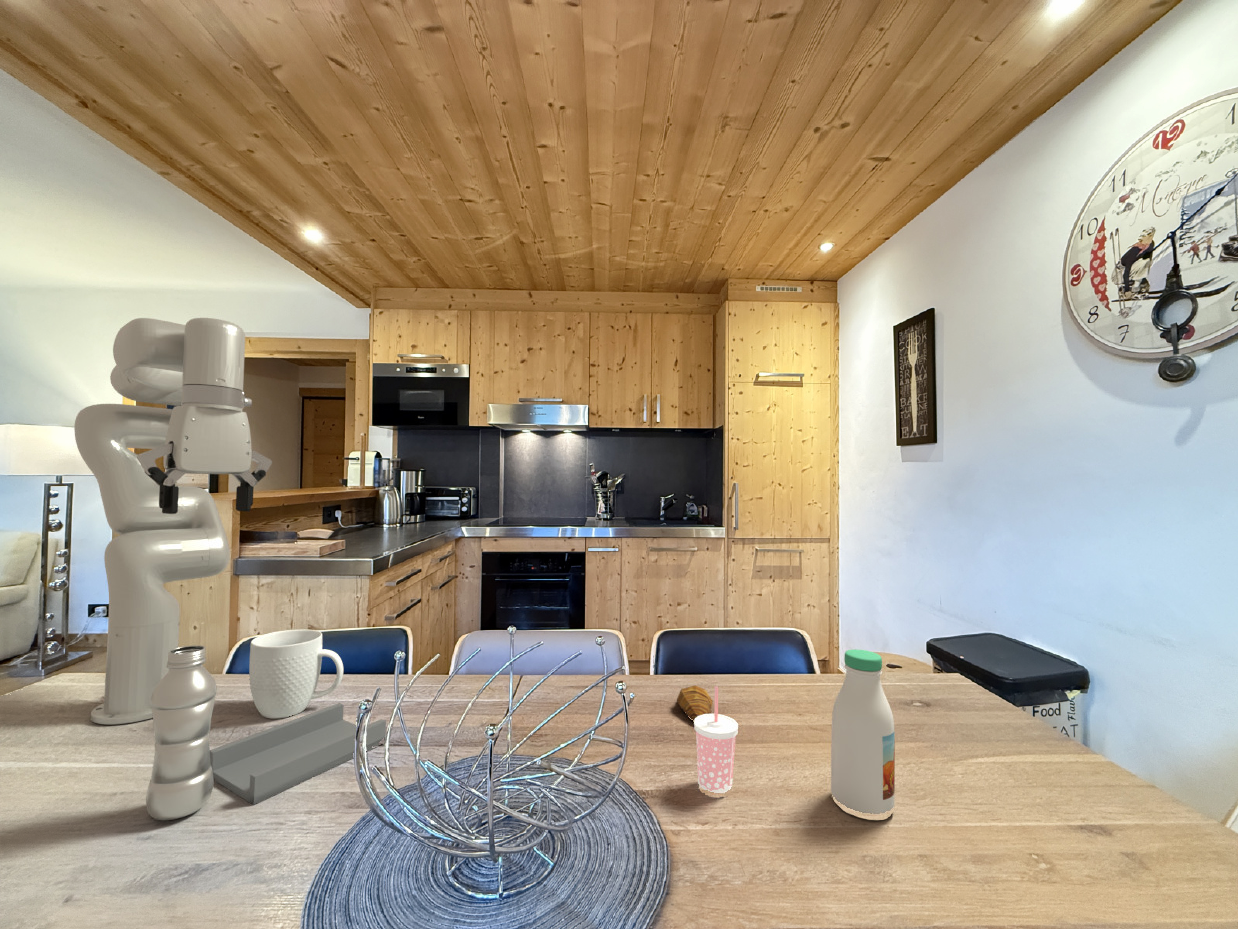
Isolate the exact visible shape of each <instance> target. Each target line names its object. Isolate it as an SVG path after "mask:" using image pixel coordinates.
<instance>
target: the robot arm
mask: <svg viewBox="0 0 1238 929" xmlns="http://www.w3.org/2000/svg"><path fill="white" fill-rule="evenodd" d="M112 347H113V348H112V354H113V359H114V362H115V366H114V367H113V369H112V370H111V372H110V376H109V377H110V384H111V387H113V388H112V389H114V390H115V391H116V392H117V393H118V394H119V395H120V396H122V397H124V398H126V399H128V400H131V401H134V402H138V403H147V404H158V405H167V406H174V407H173V408H172V409H171V408H162V407H154V406H146V405H145V406H143V405H134V404H124V403H123V404H121V403H97V404H92V405H89V406H85V407H84V408H82V409H81V410H79V412H78V413H77V415H76V417H75V421H74V425H73V426H74V438H75V444H76V446H77V449H78V452H79V454H80V456H81V458H82V460H83V462H84V463H85V464H86V466H87V468H88V469H89V470H90V472H91V473H92V474H93V475H94V477H95V479H96V481H97V483H98V488H99V493H100V498H101V501H102V506H103V510H104V514H105V518H106V521H107V524H108V526H109V528H110V529H111V531H113V532H114V533H115V534H116V535H118V536H116V537H114V538H113V539H111V540H110V541H109V542H108V544H107V545H106V547H105V550H104V556H103V559H104V568H105V573H106V581H107V588H108V589H107V591H108V618H107V619H108V623H107V624H108V625H107V640H106V641H107V644H106V645H107V646H106V659H105V660H106V662H105V677H104V678H105V680H104V700H103V703H100V704H99V705H97V706H96V707H94V708H93V709H92V710H91V712H90V720H91V722H93V723H95V724H98V725H123V724H131V723H136V722H140V721H145V720H150V719H153V714H152V706H151V696H152V694H153V691H154V689H155V688H156V686H157V685H158V684H159V682H160V681H161V680H162V679H163V677H164V676H165V675H166V674H167V673H168V672H169V668H167V662H168V653H169V651H170V650H173V649H175V648H179V639H180V637H179V636H180V620H181V619H180V617H181V616H180V614H181V607H180V603H179V601H178V600H177V598H176V597H175V596H174V595H173V594H172V593H171V592H169V591H168V590H167V589H166V588H165V586H164V584H167V583H172V582H178V581H187V580H193V579H194V580H195V579H204V578H210V577H214V576H216V575H217V576H218V575H219V574H222V572H224V571H225V570H226V569H227V567H228V565H229V564H230V563H229V562H230V559H231V558H230V557H231V551H230V544H229V541H228V538H227V533H226V531H225V528H224V525H223V522H222V519H221V516H220V513H219V510H218V508H217V504H216V502H215V499H214V497H213V496H212V494H211V493H210V492H208V490H206V489H204V488H201V487H199V486H192V485H191V486H190V485H189V486H187V485H182V486H181V485H176V483H177V482H178V481H179V480H180V479H181V478H182V477H184V475H185V474H192V475H193V474H195V475H196V474H199V475H200V474H202V475H232V476H233V478H234V479H236V481H238V483H239V485H238V486H237V487H236V493H235V495H236V496H235V511H237V512H250V511H251V510H252V506H253V504H254V487H256V486H257V485H258V483H259V482H260V481H261V480H262V479H264V477H266V475H267V472H268V471H269V469H270V468H271V466H272V464H273V461H272V460H271V459H270V458H268V457H266V456H264V455H263V454H261V453H259V452H257V451H255V450H253V449H252V436H251V427H250V423H249V419H248V415H247V412H246V411H243V410H244V409H245V407H251V406H252V403H253V400H252V399H251V398H247V397H245V392H244V379H245V376H244V373H245V354H246V353H245V350H246V334H245V332H244V329H243V328H242V327H241V326H240V325H238V324H235V323H234V322H231V321H227V320H224V319H219V318H218V319H217V318H212V317H211V318H209V317H194V318H191V319H189V320H188V321H187V322H186V324H182V323H177V322H172V321H166V320H161V319H157V318H150V317H138V318H134V319H132V320H130V321H129V322H127V323H125V324H124V325H123V326H122V327H121V328H119V330H118V332H117V333H116V336H115V338H114V341H113V346H112ZM128 448H129V449H128ZM131 448H132V449H142V450H143V449H145V450H146V449H147V451H144V452H141V453H139V454H137V453H135V452H133V451H132V450H130V449H131ZM162 457H163V461H162V462H163V463H162V464H163V467H164V470H165V471H163V470H162V469H161V468H159V467H158V465H157V463H156V459H159V458H162ZM252 462H255V463H256V465H257V466H256V468H255V470H253V471H252V472H250V470H251V467H252Z"/></svg>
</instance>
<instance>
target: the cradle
mask: <svg viewBox="0 0 1238 929" xmlns="http://www.w3.org/2000/svg"><path fill="white" fill-rule="evenodd" d="M344 706H345V705H344V704H343V703H340V702H338V703H336V704H333V705H331V706H328V707H325V708H322V709H319V710H316V711H314V712H311V713H308V714H305V715H303V716H300V717H297V718H294V719H291V720H289V721H286V722H283V723H280V724H278V725H276V726H273V727H269V728H266V729H264V730H261V731H259V732H257V733H254V734H251V735H248V736H245V737H243V738H239V739H237V740H234V741H232V742H230V743H225V744H223V745H221V746H218V747H215V748H212V749H210V764H211V767H212V771H213V779H214V782H217V783H218V784H220V785H222V786H223V787H225V788H226V789H228V790H229V791H230V792H233V793H234V794H235V795H237V796H238V797H240V798H242V799H244V800H245V801H246V802H249V803H250V804H252V806H255V805H257V804H260V803H261V802H264V801H266V800H268V799H270V798H272V797H274V796H276V795H279V794H280V793H283V792H284V791H285V792H286V791H287V790H290V789H291V788H293V787H296V786H297V785H298V786H299V785H300V784H302V783H304V782H306V781H308V780H311V779H313V778H315V777H317V776H319V775H321V774H324V773H325V772H328V771H330V770H331V769H332V770H333V768H337V767H338V766H340V765H342V764H344V763H347V762H348V761H351V760H352V759H354V758H353V753H354V739H355V733H356V725H357V724H355V723H353V722H349V721H348V720H345V719H344ZM366 725H367V751H368V752H370V751H372V750H373V749H372V746H373V747H374V746H378V744H379V742H380V741H381V740H382V739H383V738H384V740H385V741H386V733H387V732H386V731H387V721H386V720H385V719H378V720H376V721H373V722H372V723H369V724H366ZM371 749H372V750H371ZM312 777H313V778H312ZM301 782H302V783H301Z"/></svg>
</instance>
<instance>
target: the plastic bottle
mask: <svg viewBox="0 0 1238 929" xmlns="http://www.w3.org/2000/svg"><path fill="white" fill-rule="evenodd" d="M206 662H207V657H206V646H205V645H197V644H195V645H186V646H185V645H184V646H180V647H179V646H178V648H175V649H173V650H170V651H169V653H168V662H167V668H169V672H168V673H167V674H166V675H165V676H164V677H163V679H162V680H161V681H160V682H159V684H158V685H157V686H156V688H155V689H154V691H153V694H152V696H151V706H152V714H153V718H152V721H153V728H154V757H153V758H154V759H153V763H152V770H151V777H150V780H149V783H148V787H147V792H146V797H145V805H146V810H147V812H148V813H147V814H149V816H151V817H152V818H153V819H154V820H158V821H172V820H176V819H180V818H184V817H186V816H189V815H192V814H194V813H195V812H197V811H199V810H201V809H202V808H203V807H204V806H205V805H206V804H207V802H208V801H209V800H210V798H211V796H212V793H213V788H214V785H215V780H214V779H213V771H212V767H211V764H210V750H211V748H210V738H211V737H210V736H211V732H210V730H211V725H212V715H213V712H214V707H215V701H216V696H217V690H218V685H217V683H216V679H215V678H214V677H213V676H212V674H211V672H209V670H207V669H206V668H205V666H204V665H203V664H205V663H206Z"/></svg>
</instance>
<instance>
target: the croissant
mask: <svg viewBox="0 0 1238 929" xmlns="http://www.w3.org/2000/svg"><path fill="white" fill-rule="evenodd" d="M676 702H677V703H678V705H679V707H680V708H681V710H682V709H683V710H682V711H683V712H686V714H687V715H688V716H689V717H690V718H691V719H693V720H695V718H696V717H698V716H700V715H703V714H712V713H713V712H712V710H711V709H712V707H713V699H712V698H711V696H710V694H709V693H708V691H707V690H706V689H705V688H702V687H700V686H698V685H691V686H687V687H684V688H683V687H682V688H681V689H680V691H679V694H678V695H677V698H676ZM686 714H685V715H686ZM687 715H686V716H687ZM688 716H687V717H688Z"/></svg>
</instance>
